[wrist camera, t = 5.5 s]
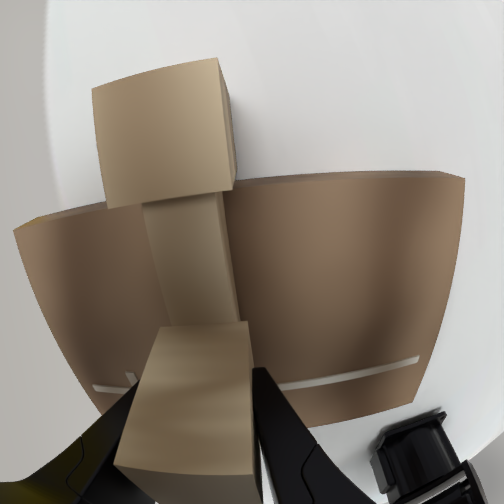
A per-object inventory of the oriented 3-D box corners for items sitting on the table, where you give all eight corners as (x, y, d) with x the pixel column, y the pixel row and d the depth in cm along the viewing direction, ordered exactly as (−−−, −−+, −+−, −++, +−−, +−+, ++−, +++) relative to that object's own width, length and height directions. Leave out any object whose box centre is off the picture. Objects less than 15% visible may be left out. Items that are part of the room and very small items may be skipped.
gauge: (228, 93, 10) (180, -50, 1) (261, 369, 15) (273, 527, 6) (152, 107, 10) (-39, 67, 1) (206, 373, 15) (190, 527, 6)
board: (439, 171, 11) (466, 178, 9) (401, 382, 16) (412, 403, 14) (36, 217, 11) (11, 230, 9) (119, 407, 17) (111, 429, 15)
